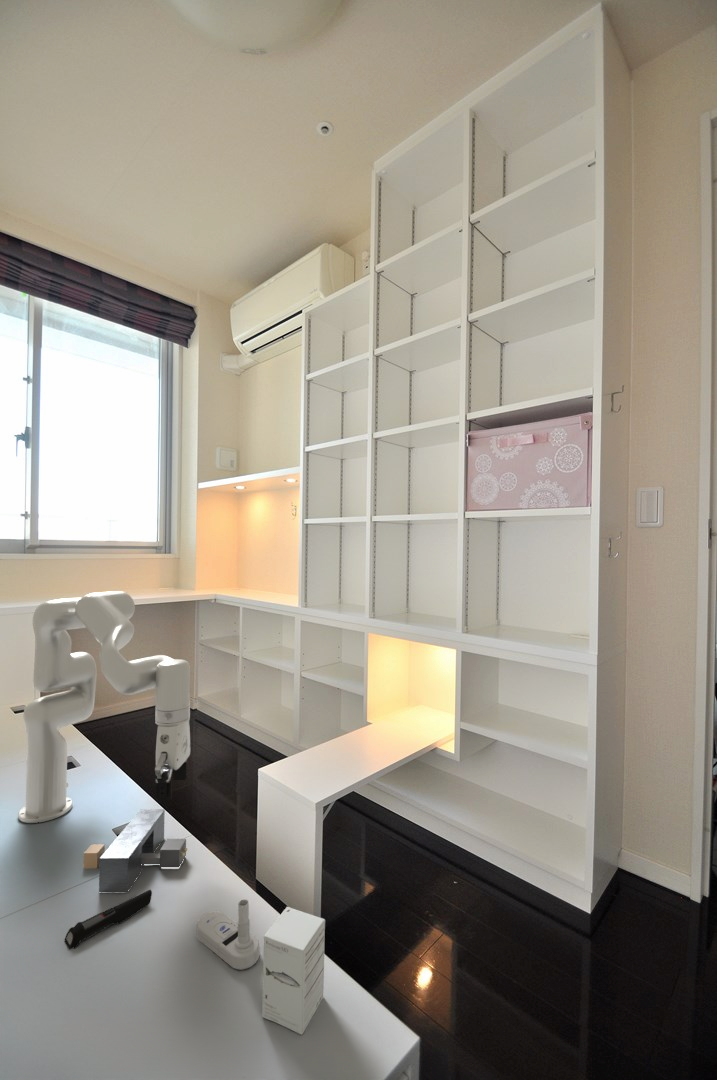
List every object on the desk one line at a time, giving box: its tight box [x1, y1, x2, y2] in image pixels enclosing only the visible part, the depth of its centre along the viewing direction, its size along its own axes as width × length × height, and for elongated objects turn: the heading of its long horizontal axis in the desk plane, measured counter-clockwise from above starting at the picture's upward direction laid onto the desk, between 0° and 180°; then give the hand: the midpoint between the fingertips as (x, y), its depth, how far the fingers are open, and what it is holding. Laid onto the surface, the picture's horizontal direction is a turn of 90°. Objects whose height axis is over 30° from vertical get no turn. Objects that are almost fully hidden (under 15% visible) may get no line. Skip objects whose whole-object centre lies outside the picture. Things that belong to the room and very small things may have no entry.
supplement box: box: [261, 906, 326, 1036], centre depth 78 cm, size 7×7×13 cm
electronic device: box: [196, 899, 261, 971], centre depth 90 cm, size 5×10×15 cm
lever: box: [82, 838, 188, 869], centre depth 114 cm, size 22×4×4 cm, turn 91°
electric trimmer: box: [63, 889, 153, 950], centre depth 96 cm, size 4×16×3 cm, turn 137°
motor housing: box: [98, 808, 166, 893], centre depth 114 cm, size 6×20×7 cm, turn 0°
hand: (172, 789), depth 114 cm, fingers open, 9 cm apart
